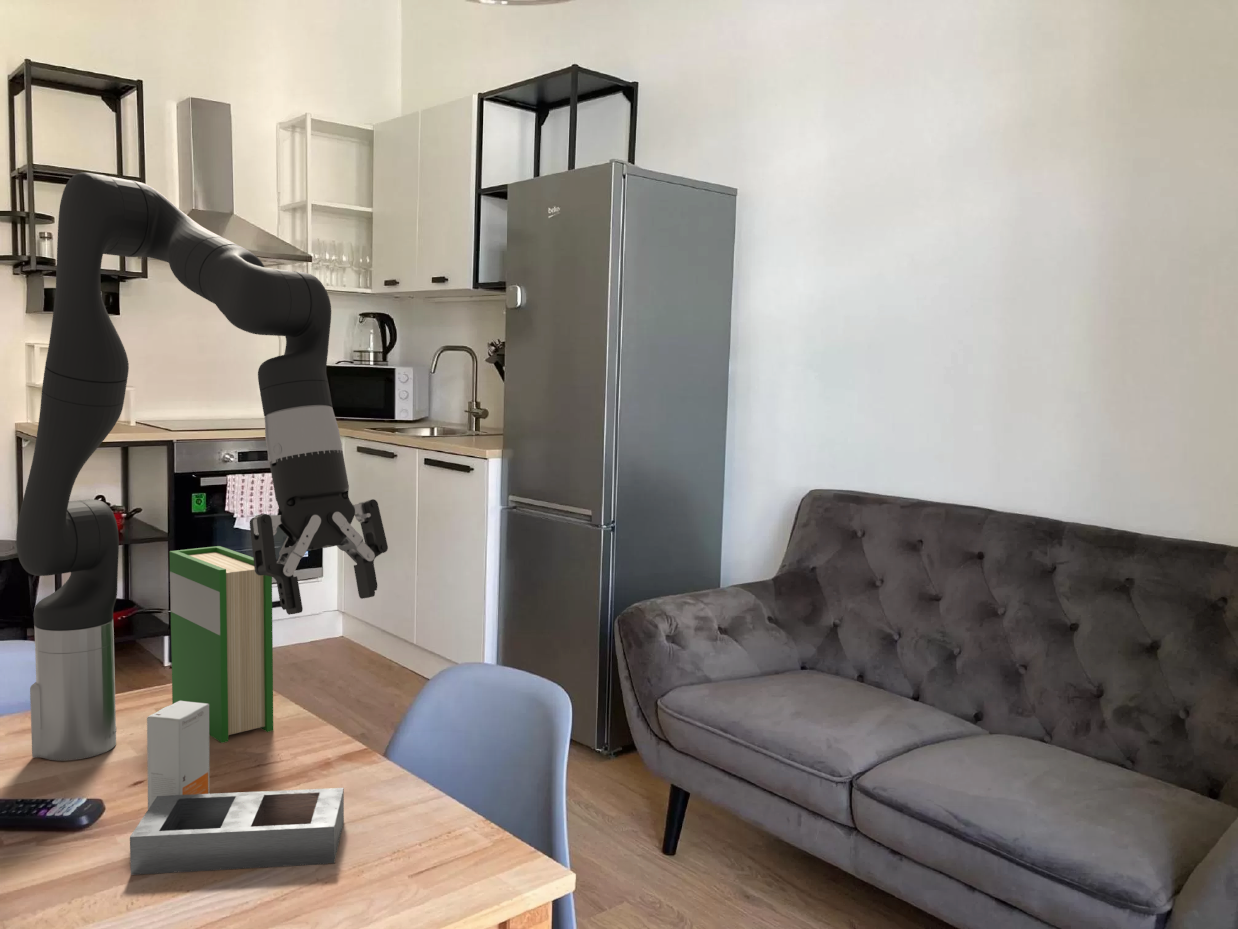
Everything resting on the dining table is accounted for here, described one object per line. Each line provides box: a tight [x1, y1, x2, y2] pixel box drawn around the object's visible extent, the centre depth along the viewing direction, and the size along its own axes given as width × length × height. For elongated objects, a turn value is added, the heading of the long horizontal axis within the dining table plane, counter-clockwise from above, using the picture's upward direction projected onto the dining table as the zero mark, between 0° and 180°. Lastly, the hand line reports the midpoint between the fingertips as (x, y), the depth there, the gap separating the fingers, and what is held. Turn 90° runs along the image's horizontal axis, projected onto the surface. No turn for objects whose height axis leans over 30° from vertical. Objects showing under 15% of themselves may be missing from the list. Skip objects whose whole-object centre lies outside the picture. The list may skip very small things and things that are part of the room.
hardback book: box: [169, 545, 274, 744], centre depth 148 cm, size 18×7×24 cm, turn 44°
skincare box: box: [146, 701, 210, 810], centre depth 119 cm, size 6×4×12 cm
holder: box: [129, 787, 345, 876], centre depth 111 cm, size 20×10×4 cm, turn 99°
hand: (332, 605), depth 108 cm, fingers open, 8 cm apart
